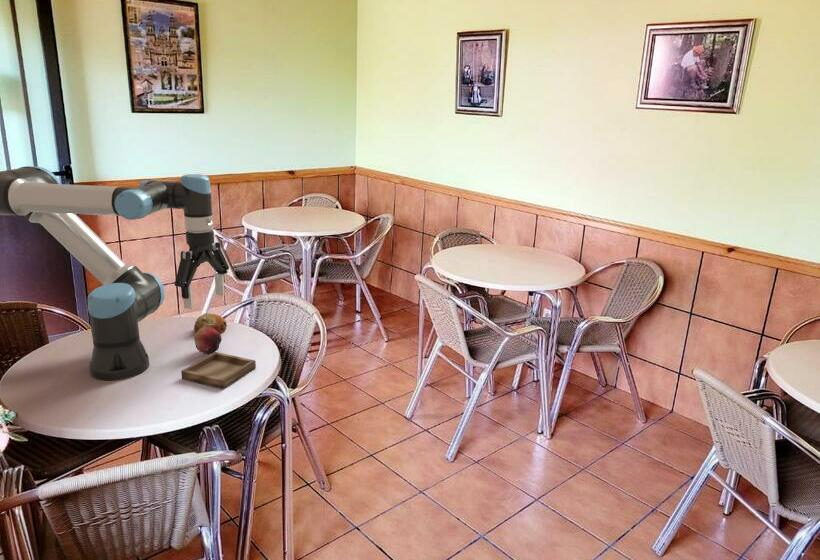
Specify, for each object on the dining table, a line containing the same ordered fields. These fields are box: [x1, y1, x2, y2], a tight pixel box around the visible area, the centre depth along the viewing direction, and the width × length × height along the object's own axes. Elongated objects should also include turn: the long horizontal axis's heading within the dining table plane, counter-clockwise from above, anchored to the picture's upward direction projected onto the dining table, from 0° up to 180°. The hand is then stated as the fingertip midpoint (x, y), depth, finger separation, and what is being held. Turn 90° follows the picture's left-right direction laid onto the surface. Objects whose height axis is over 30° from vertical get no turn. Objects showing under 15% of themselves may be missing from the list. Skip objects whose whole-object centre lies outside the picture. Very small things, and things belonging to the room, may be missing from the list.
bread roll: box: [193, 312, 228, 335], centre depth 196 cm, size 10×10×8 cm
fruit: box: [194, 327, 222, 355], centre depth 179 cm, size 8×8×8 cm
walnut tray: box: [180, 351, 257, 390], centre depth 167 cm, size 14×14×2 cm
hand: (205, 301), depth 175 cm, fingers open, 13 cm apart
